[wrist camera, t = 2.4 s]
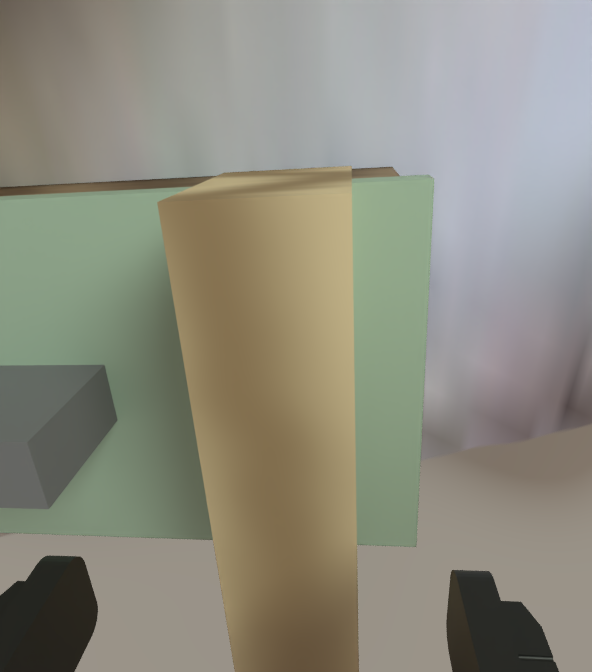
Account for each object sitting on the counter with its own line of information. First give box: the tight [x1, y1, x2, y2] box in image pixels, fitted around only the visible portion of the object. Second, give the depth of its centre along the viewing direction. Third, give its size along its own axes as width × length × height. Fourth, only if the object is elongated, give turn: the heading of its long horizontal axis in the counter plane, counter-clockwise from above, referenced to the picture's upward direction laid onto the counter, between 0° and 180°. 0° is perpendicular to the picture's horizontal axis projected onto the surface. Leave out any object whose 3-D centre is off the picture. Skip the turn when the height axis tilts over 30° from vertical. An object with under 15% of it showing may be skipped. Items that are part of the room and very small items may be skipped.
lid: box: [0, 175, 434, 547], centre depth 18 cm, size 25×15×6 cm, turn 93°
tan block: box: [157, 166, 359, 672], centre depth 16 cm, size 4×16×6 cm, turn 3°
